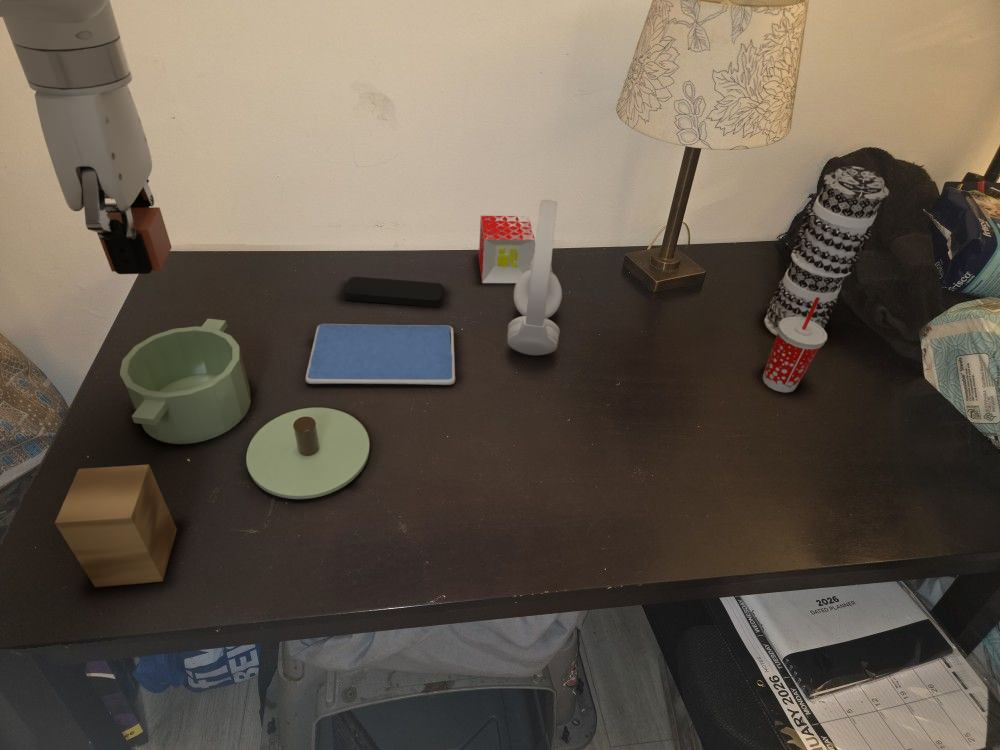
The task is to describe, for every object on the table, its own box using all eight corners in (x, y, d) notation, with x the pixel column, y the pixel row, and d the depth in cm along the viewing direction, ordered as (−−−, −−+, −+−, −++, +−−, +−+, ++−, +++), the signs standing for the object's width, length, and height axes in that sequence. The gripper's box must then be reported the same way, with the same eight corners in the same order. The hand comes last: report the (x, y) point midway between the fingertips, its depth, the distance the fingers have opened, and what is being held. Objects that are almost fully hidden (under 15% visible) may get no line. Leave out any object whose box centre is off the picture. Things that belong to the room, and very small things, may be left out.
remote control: (444, 292, 103) (349, 282, 102) (444, 283, 102) (348, 272, 101) (441, 310, 99) (342, 300, 98) (441, 301, 98) (342, 290, 97)
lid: (382, 421, 80) (380, 390, 76) (351, 510, 69) (347, 478, 66) (274, 408, 80) (267, 376, 77) (227, 494, 70) (217, 462, 66)
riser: (163, 581, 62) (131, 517, 55) (94, 587, 61) (54, 523, 54) (177, 529, 66) (149, 464, 60) (113, 534, 65) (78, 468, 59)
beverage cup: (798, 371, 93) (838, 289, 83) (804, 399, 88) (847, 316, 79) (754, 364, 93) (789, 281, 84) (758, 391, 89) (796, 307, 80)
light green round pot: (274, 366, 86) (264, 320, 81) (214, 468, 72) (198, 420, 67) (181, 355, 86) (166, 308, 82) (105, 454, 73) (81, 405, 68)
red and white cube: (481, 283, 105) (484, 239, 100) (478, 257, 111) (480, 215, 105) (530, 283, 106) (535, 240, 100) (524, 258, 112) (529, 216, 106)
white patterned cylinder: (762, 304, 105) (822, 154, 89) (821, 318, 103) (894, 167, 87) (760, 335, 99) (824, 179, 82) (823, 351, 97) (902, 194, 81)
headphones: (559, 303, 102) (577, 182, 89) (554, 378, 88) (575, 248, 75) (514, 297, 102) (525, 176, 89) (502, 372, 88) (513, 241, 75)
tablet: (453, 330, 95) (453, 323, 94) (455, 388, 85) (455, 380, 84) (318, 329, 93) (317, 322, 92) (304, 388, 83) (303, 380, 82)
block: (161, 270, 63) (147, 229, 60) (111, 271, 63) (95, 230, 60) (171, 247, 67) (159, 207, 64) (124, 248, 66) (110, 207, 63)
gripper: (62, 33, 58) (125, 218, 70) (-23, 96, 46) (72, 308, 58) (151, 36, 59) (199, 217, 71) (92, 98, 47) (161, 306, 59)
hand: (141, 256), depth 64 cm, fingers closed on block, 4 cm apart
